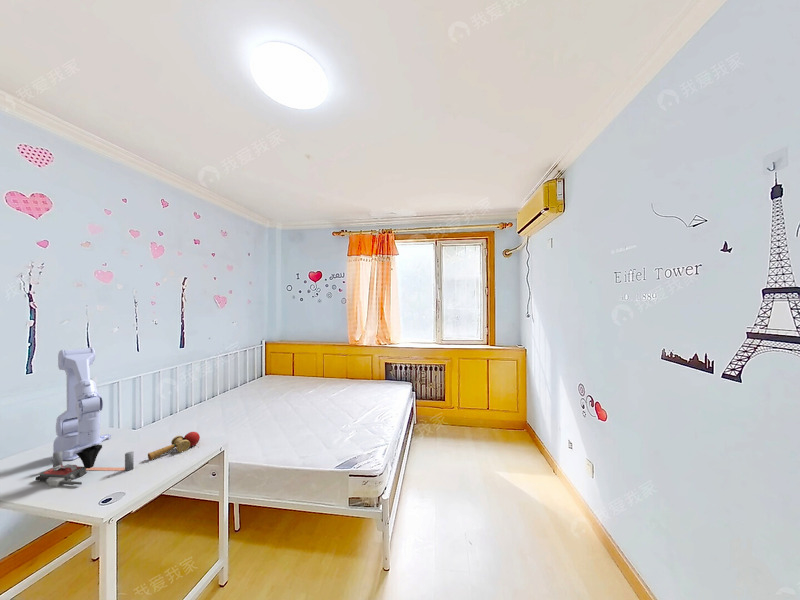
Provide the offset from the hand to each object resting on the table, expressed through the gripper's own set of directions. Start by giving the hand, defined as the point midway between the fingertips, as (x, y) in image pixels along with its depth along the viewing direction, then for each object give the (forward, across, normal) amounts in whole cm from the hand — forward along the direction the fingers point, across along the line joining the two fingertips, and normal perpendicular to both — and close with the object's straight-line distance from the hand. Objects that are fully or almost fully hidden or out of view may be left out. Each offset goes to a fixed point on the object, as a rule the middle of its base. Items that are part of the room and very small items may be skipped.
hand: (89, 467), depth 113 cm
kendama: (+2, +16, -20) cm, 26 cm away
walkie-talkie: (+2, -5, +2) cm, 6 cm away
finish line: (+1, +2, 0) cm, 2 cm away
